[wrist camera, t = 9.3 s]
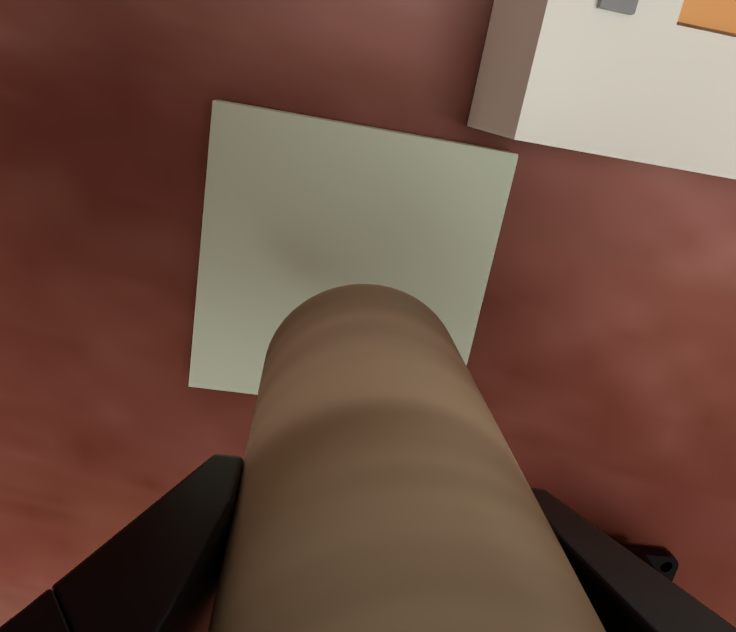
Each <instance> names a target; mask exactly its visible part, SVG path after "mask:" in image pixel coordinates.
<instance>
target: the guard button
mask: <svg viewBox="0 0 736 632" xmlns="http://www.w3.org/2000/svg"><path fill="white" fill-rule="evenodd" d="M676 25H680V26H685V27H689V28H694V29H699V30H703V31H708V32H713V33H718V34H722V35H727V36H732V37H736V0H684V2H683V5H682V8H681V12H680V15H679V18H678V21H677V24H676Z"/></svg>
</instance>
